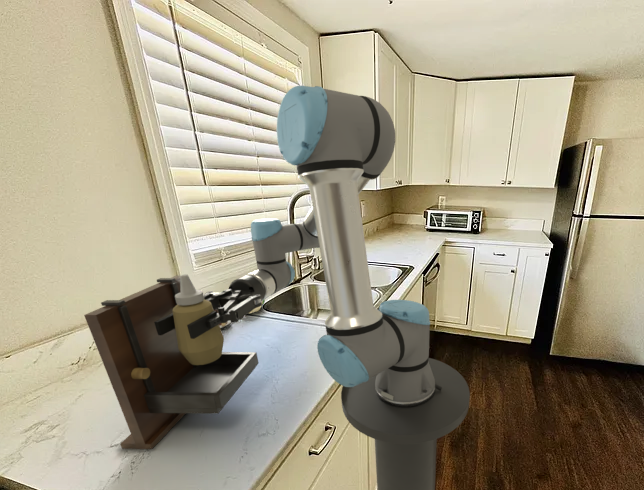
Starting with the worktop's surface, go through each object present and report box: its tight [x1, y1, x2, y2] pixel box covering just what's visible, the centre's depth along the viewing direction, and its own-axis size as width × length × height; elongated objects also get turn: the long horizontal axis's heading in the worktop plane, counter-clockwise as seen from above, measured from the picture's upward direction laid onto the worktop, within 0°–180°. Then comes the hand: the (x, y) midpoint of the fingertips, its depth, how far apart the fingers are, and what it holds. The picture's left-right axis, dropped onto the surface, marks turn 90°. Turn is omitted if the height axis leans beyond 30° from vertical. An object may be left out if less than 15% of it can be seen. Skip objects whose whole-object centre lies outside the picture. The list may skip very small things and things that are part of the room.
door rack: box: [84, 274, 259, 450], centre depth 67 cm, size 20×22×29 cm
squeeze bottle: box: [173, 273, 225, 365], centre depth 64 cm, size 8×8×18 cm
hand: (174, 330), depth 59 cm, fingers closed on squeeze bottle, 6 cm apart
